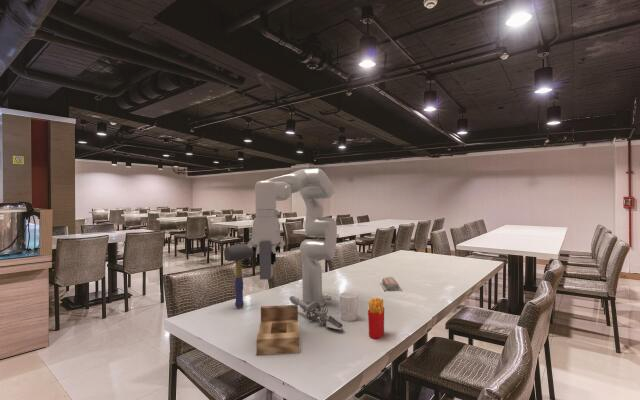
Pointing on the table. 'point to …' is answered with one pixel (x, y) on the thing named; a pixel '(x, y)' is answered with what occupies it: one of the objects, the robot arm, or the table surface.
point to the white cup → (348, 306)
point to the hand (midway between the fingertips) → (266, 263)
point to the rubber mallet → (238, 267)
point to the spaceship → (318, 313)
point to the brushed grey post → (265, 260)
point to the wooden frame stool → (278, 330)
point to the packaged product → (390, 284)
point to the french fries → (376, 318)
